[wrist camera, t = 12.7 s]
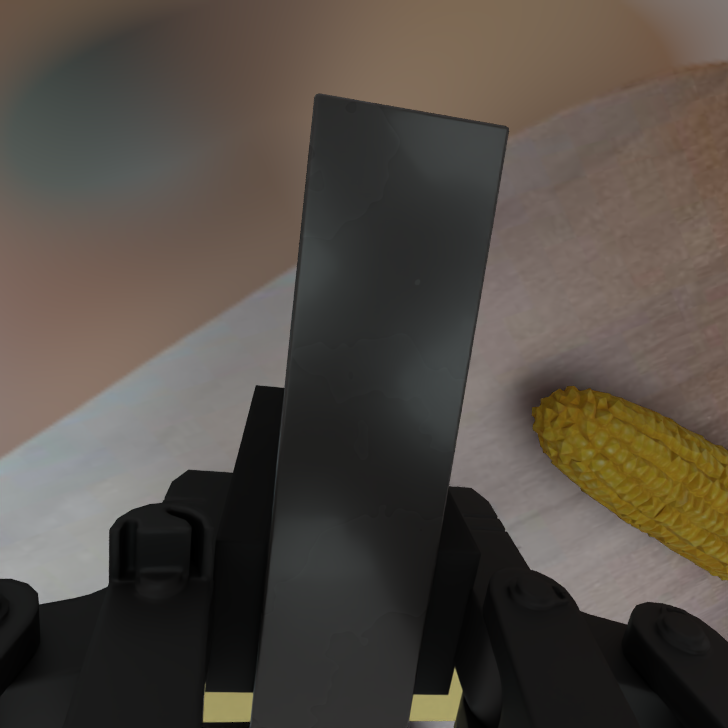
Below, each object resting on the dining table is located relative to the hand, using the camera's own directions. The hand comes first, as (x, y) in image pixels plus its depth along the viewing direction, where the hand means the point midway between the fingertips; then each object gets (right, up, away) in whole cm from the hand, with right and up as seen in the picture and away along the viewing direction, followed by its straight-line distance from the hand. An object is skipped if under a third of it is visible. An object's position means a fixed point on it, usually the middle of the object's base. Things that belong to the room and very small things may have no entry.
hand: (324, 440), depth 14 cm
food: (+17, -4, +14) cm, 22 cm away
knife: (-1, -5, +1) cm, 5 cm away
